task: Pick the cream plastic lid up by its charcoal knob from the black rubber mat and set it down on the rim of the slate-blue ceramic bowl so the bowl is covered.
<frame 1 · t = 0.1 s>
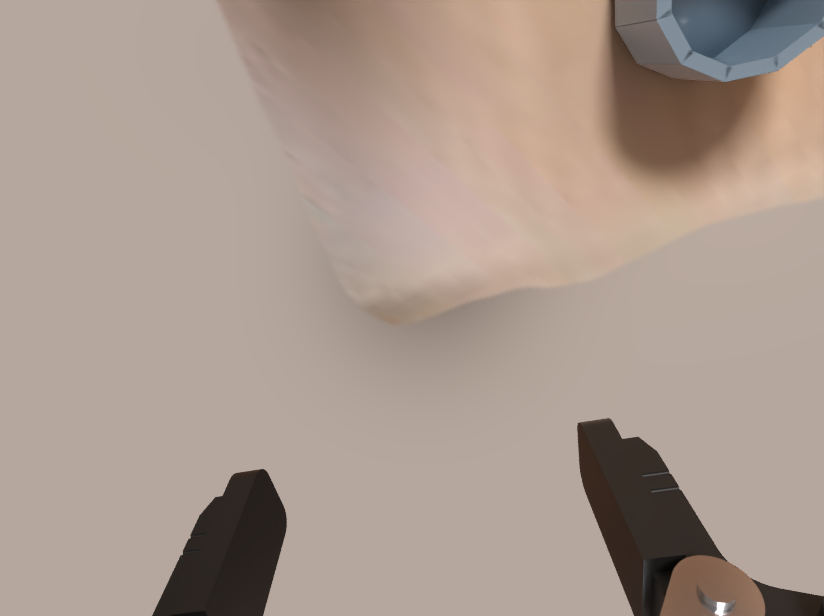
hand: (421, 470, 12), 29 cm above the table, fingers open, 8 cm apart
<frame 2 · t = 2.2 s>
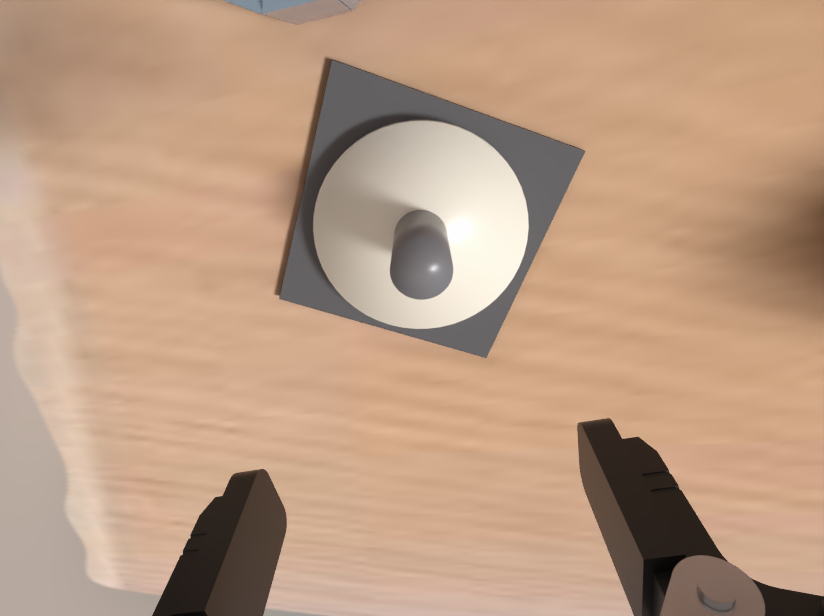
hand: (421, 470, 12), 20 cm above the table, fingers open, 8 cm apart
lid: (420, 230, 30), resting on mat
mat: (420, 228, 30), on the table
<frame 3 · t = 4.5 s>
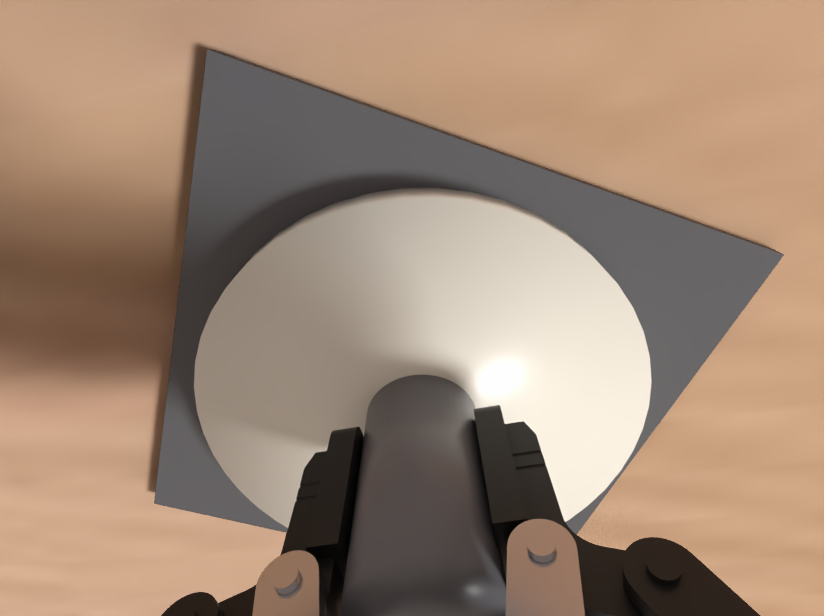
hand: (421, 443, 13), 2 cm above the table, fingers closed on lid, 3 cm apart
lid: (421, 398, 15), resting on mat, touching gripper
mat: (420, 390, 15), on the table
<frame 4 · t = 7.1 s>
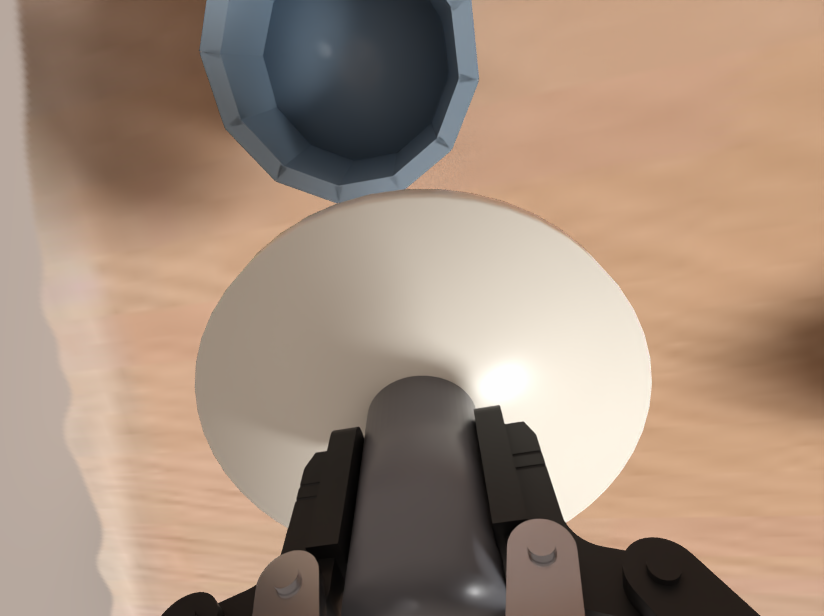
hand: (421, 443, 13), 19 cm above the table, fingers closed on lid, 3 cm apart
lid: (421, 398, 15), point 17 cm above the table, touching gripper
bowl: (358, 65, 26), on the table
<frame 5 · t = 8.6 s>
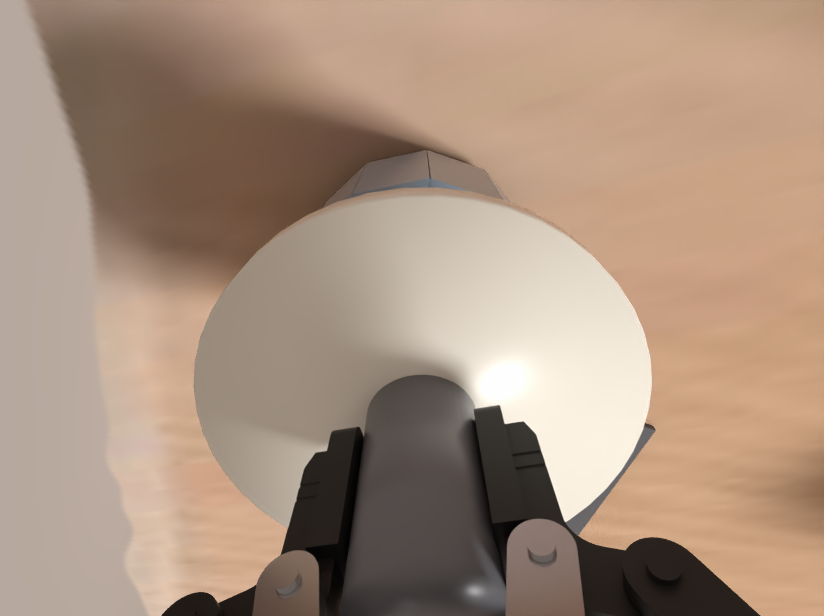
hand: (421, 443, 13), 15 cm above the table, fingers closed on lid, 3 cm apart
lid: (421, 398, 15), point 13 cm above the table, touching gripper
mat: (503, 477, 34), on the table
bowl: (419, 255, 26), on the table
when the fingers open (10 cm above the table, at t = 9.7 s): lid drops 1 cm, resting on bowl.
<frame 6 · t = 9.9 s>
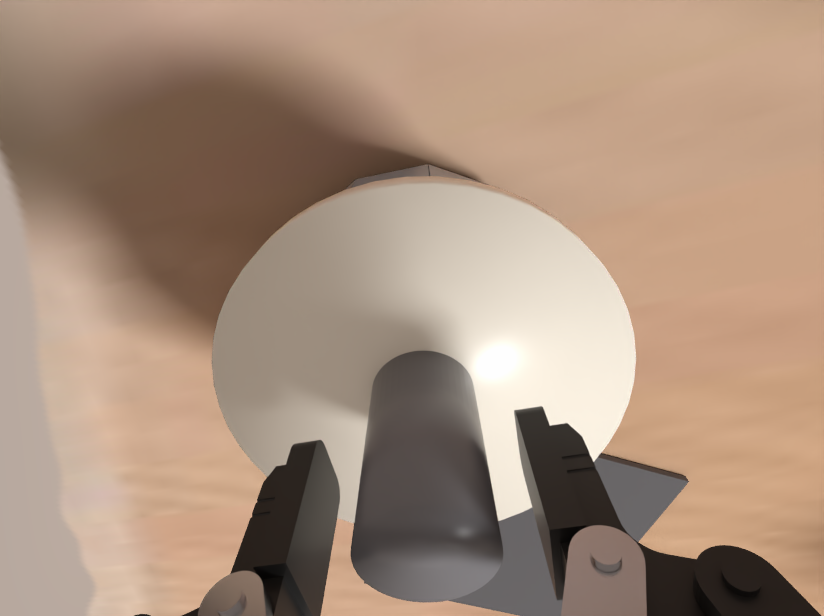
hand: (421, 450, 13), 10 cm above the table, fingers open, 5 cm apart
lid: (422, 375, 16), point 7 cm above the table, touching bowl
mat: (513, 530, 30), on the table
bowl: (418, 286, 22), on the table
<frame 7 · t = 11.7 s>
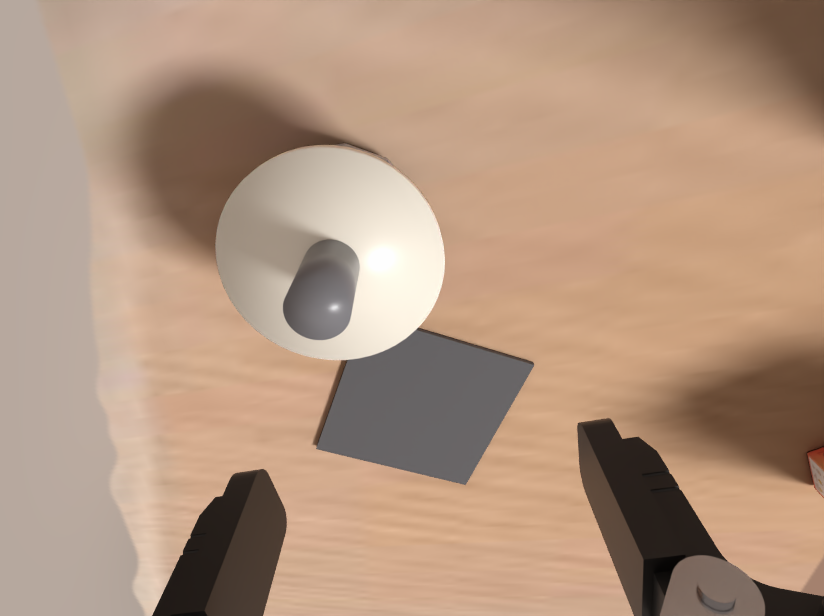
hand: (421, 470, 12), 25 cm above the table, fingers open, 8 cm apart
lid: (333, 259, 28), point 7 cm above the table, touching bowl
mat: (420, 406, 42), on the table
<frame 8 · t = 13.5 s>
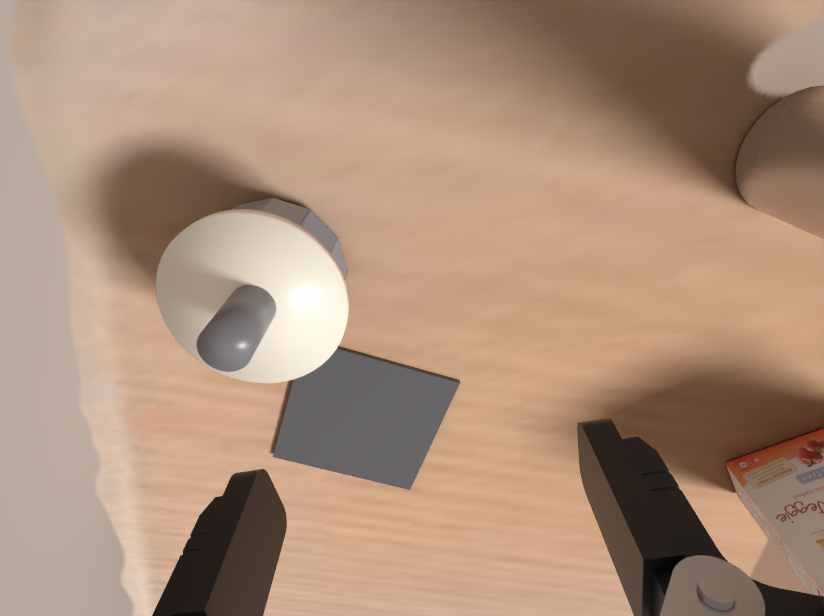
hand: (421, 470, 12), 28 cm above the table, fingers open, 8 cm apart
lid: (257, 299, 34), point 7 cm above the table, touching bowl
mat: (362, 419, 47), on the table
bowl: (280, 262, 40), on the table
cracker box: (795, 452, 49), on the table
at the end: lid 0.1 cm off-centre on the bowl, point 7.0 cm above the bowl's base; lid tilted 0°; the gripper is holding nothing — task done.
